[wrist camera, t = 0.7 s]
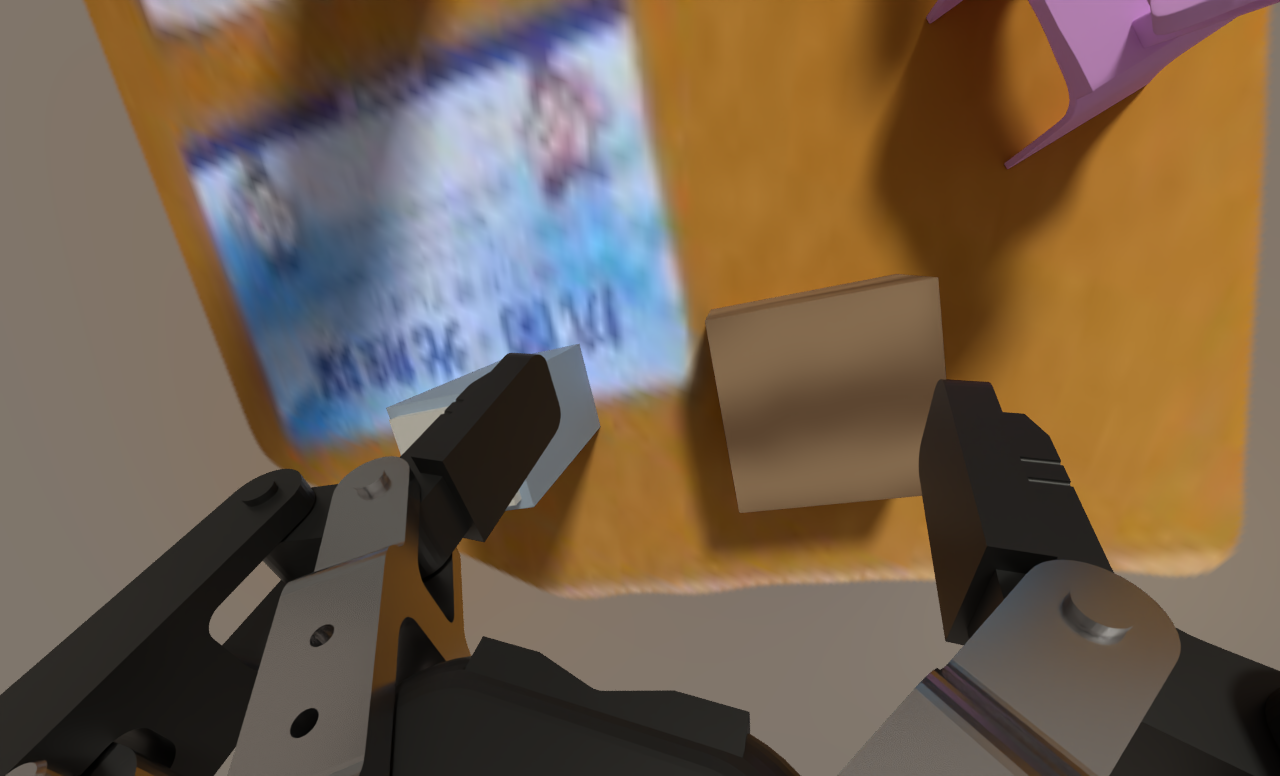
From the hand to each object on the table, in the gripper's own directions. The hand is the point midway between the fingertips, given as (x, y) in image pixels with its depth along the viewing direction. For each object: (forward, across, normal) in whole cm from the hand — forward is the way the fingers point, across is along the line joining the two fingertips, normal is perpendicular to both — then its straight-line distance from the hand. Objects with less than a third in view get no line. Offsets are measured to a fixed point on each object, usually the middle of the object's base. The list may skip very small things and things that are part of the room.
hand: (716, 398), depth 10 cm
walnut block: (+17, -2, +11) cm, 20 cm away
